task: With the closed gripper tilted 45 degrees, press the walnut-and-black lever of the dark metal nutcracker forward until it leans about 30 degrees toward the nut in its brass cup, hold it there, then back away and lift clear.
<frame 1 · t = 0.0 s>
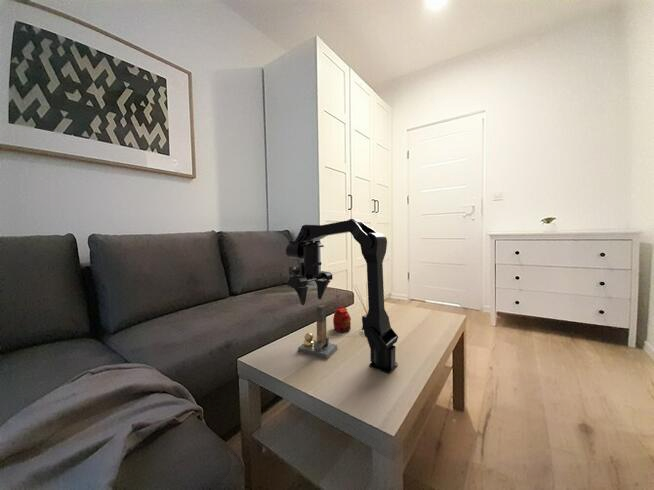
hand: (311, 301, 91), 15 cm above the table, tool pointing down, fingers open, 9 cm apart
decorative doll: (341, 329, 103), on the table
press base: (321, 351, 84), on the table
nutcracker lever: (321, 326, 84), point 9 cm above the table, hinge at 0.0°
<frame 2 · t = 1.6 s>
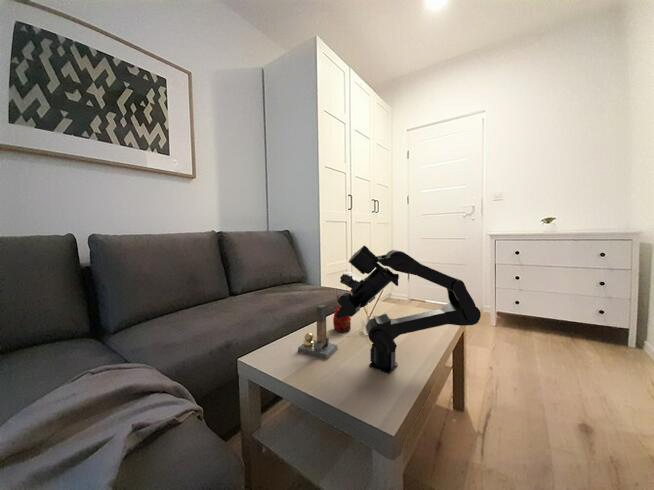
hand: (340, 314, 80), 14 cm above the table, tool tilted 45°, fingers open, 6 cm apart
nothing on the table moved.
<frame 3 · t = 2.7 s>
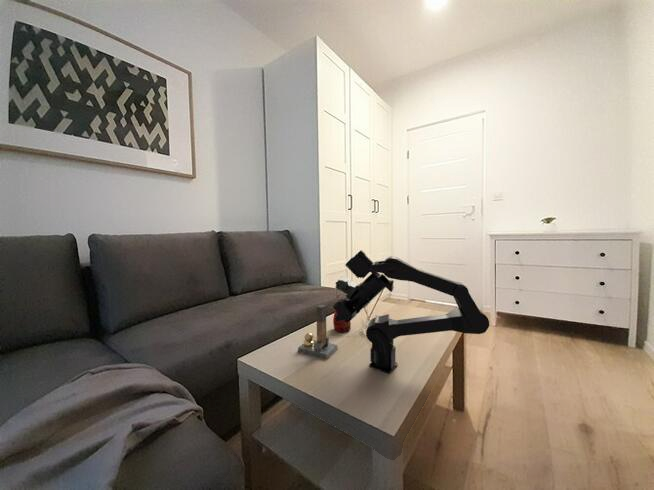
hand: (336, 320, 81), 12 cm above the table, tool tilted 45°, fingers closed
nothing on the table moved.
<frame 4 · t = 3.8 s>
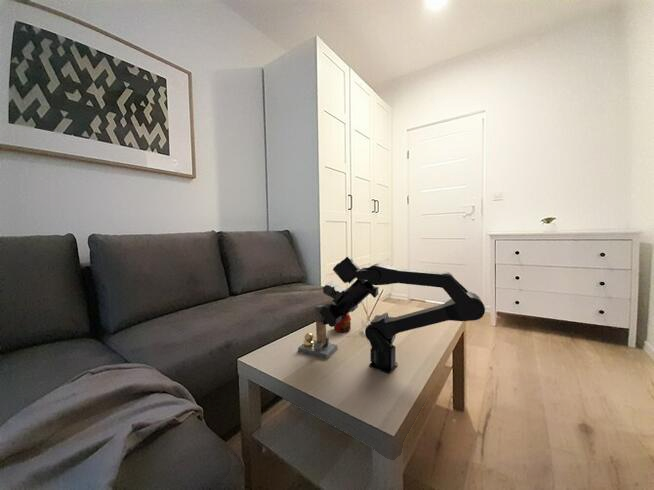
hand: (324, 323, 83), 10 cm above the table, tool tilted 45°, fingers closed, pressing on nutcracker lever
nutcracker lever: (321, 326, 84), point 9 cm above the table, hinge at 2.0°, touching gripper
everything else where it was.
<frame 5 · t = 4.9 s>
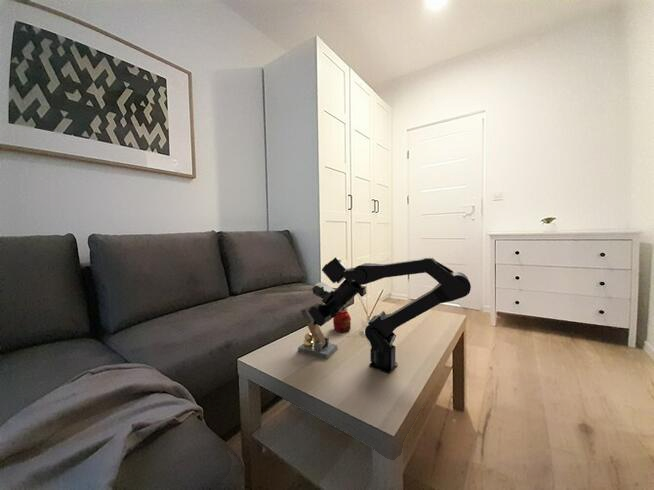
hand: (314, 323, 85), 9 cm above the table, tool tilted 45°, fingers closed, pressing on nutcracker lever
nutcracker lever: (313, 327, 85), point 8 cm above the table, hinge at 29.6°, touching gripper
everything else where it was.
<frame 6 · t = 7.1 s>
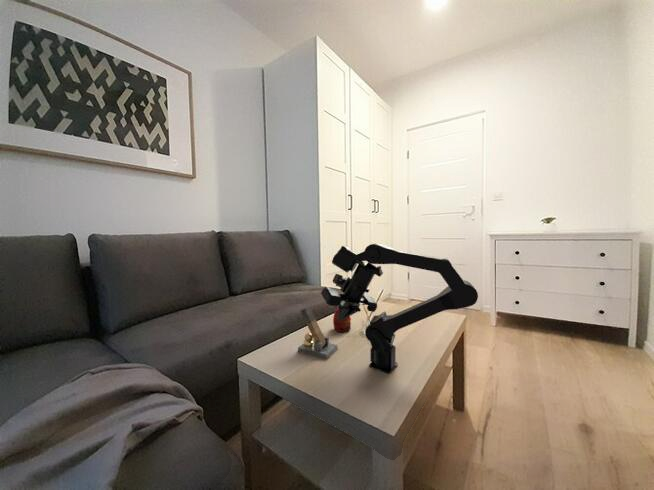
hand: (338, 320, 81), 12 cm above the table, tool tilted 30°, fingers closed
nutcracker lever: (313, 327, 85), point 8 cm above the table, hinge at 29.8°
everything else where it was.
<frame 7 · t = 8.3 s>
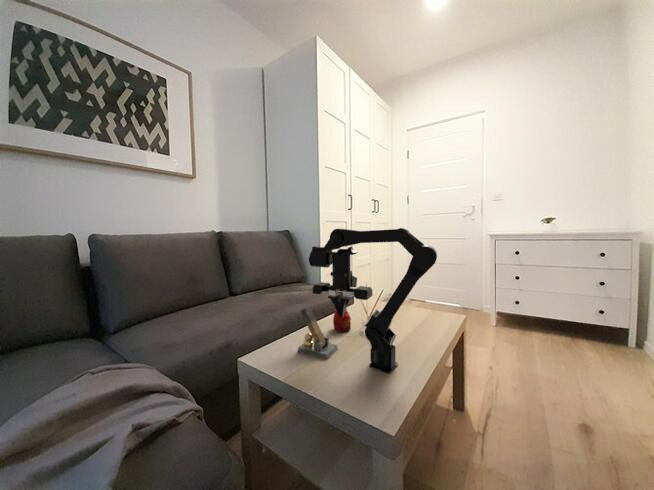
hand: (341, 317, 80), 13 cm above the table, tool pointing down, fingers closed
nothing on the table moved.
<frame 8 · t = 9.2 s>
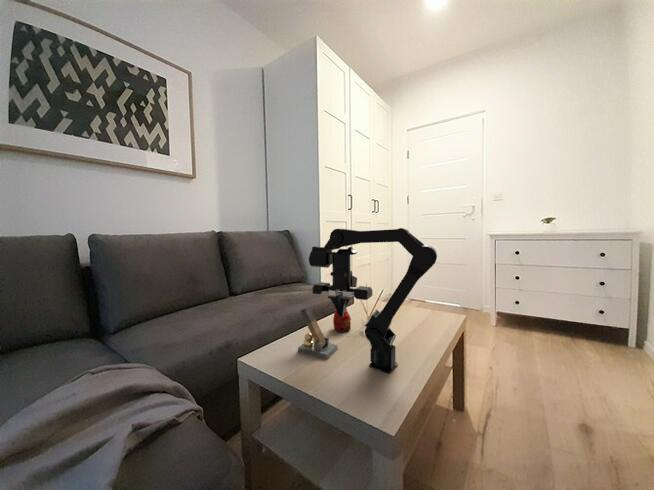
hand: (341, 317, 80), 13 cm above the table, tool pointing down, fingers closed
nothing on the table moved.
at the end: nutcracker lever at +30° (first picture: +0°); the gripper is holding nothing; decorative doll moved 0.3 cm from its start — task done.
